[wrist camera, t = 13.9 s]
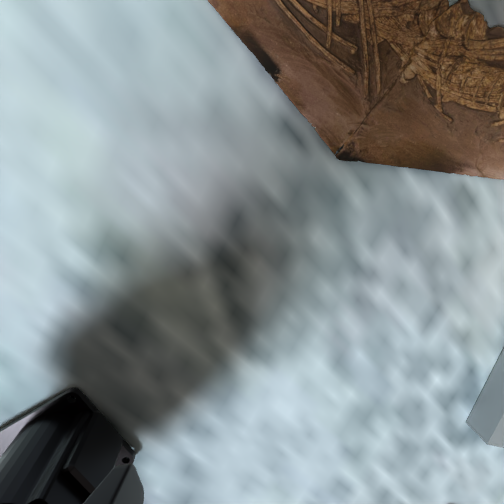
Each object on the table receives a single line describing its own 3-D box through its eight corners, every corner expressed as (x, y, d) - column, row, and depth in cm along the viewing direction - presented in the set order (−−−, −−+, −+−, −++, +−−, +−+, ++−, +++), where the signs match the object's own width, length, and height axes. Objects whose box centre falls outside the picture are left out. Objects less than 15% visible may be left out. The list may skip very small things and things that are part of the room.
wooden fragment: (578, 94, 20) (598, 90, 19) (459, 249, 21) (472, 253, 20) (196, -270, 14) (194, -303, 13) (78, -25, 16) (69, -38, 15)
